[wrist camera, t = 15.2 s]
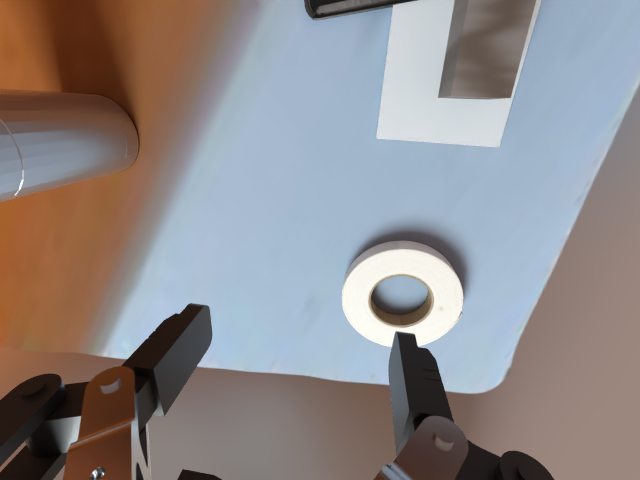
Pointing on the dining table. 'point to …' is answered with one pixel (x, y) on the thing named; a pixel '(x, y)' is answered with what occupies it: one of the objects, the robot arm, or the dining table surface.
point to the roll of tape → (402, 261)
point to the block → (485, 48)
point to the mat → (433, 83)
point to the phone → (345, 7)
